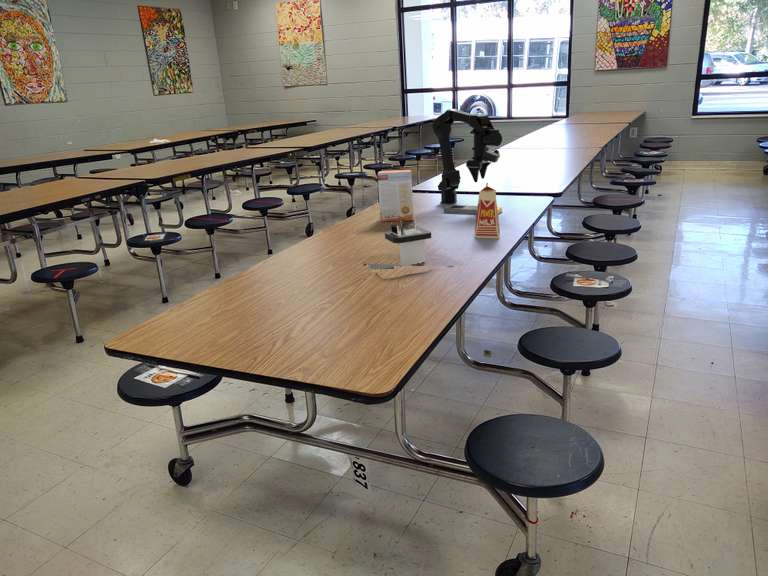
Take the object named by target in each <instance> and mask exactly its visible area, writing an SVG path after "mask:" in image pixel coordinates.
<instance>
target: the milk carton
mask: <svg viewBox="0 0 768 576" xmlns="http://www.w3.org/2000/svg"><path fill="white" fill-rule="evenodd" d="M488 185H489V182H486V183H485V187H483V188H482V189H481V190H480V191H479V195H478V199H477V200H478V201H477V205H476V206H477V214H475V215H476V216H475V228H474V236H473V237H474V239H500V237H501V230H500V229H501V228H500V221H499V214H498V210H497V207H498V203H497V195H496V194H497V191H496V189H494V188H492V187H490V186H488Z"/></svg>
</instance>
